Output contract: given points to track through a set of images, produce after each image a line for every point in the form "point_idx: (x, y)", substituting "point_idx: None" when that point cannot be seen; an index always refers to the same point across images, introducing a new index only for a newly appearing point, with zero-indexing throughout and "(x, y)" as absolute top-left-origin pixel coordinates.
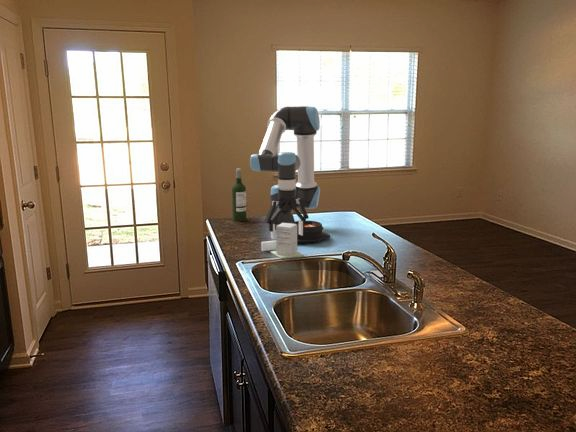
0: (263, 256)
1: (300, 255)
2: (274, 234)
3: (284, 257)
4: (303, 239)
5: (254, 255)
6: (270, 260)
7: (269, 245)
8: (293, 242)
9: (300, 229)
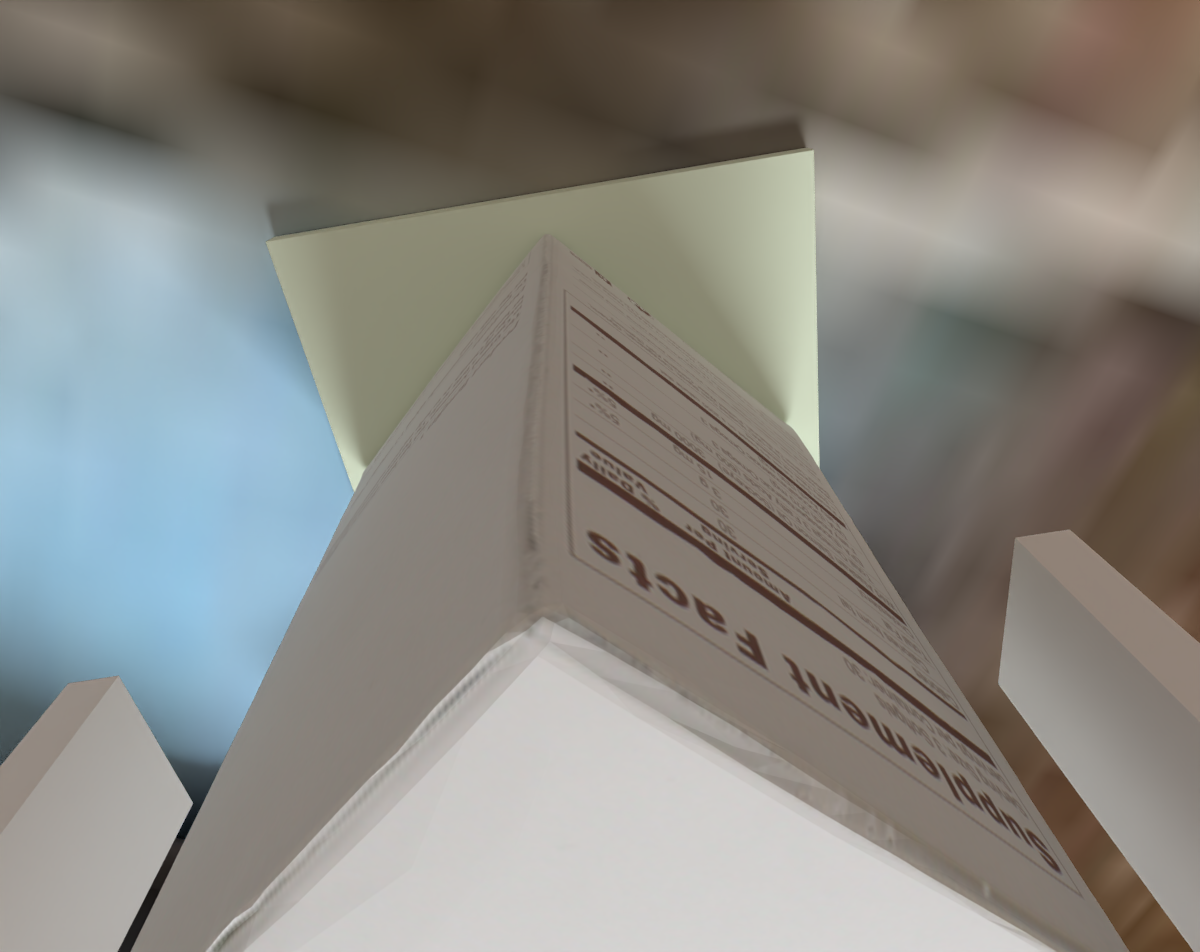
0: (1032, 404)
1: (346, 227)
2: (1130, 630)
3: (726, 164)
4: (153, 892)
5: (1132, 497)
6: (1055, 101)
7: None
8: (449, 407)
9: (41, 875)
